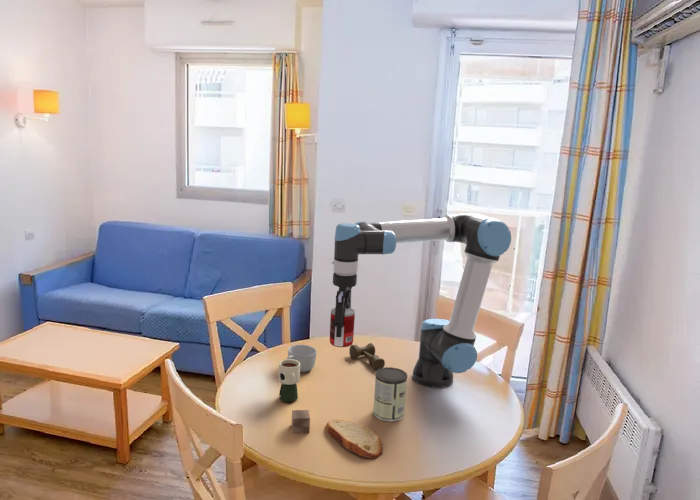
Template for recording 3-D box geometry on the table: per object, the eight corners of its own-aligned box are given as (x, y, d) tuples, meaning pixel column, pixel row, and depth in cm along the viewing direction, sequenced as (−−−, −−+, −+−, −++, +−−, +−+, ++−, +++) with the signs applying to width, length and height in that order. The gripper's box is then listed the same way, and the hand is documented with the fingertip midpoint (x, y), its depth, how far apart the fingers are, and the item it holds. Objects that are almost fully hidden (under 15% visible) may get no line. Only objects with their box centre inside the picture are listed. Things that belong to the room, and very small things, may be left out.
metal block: (307, 424, 173) (308, 409, 172) (309, 433, 168) (309, 418, 167) (291, 425, 172) (292, 410, 171) (292, 433, 167) (293, 418, 166)
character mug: (274, 393, 191) (275, 357, 189) (294, 390, 194) (295, 355, 191) (282, 408, 182) (283, 371, 179) (303, 405, 184) (304, 368, 181)
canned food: (354, 339, 184) (356, 307, 181) (351, 348, 176) (353, 315, 174) (331, 337, 184) (332, 305, 182) (327, 346, 177) (329, 313, 174)
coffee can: (377, 403, 188) (380, 364, 185) (407, 410, 185) (410, 370, 182) (368, 417, 179) (371, 377, 176) (399, 424, 176) (403, 383, 173)
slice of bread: (325, 423, 174) (326, 412, 174) (383, 428, 173) (383, 417, 173) (318, 456, 157) (319, 444, 156) (382, 462, 156) (383, 450, 155)
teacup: (303, 360, 219) (304, 341, 217) (321, 370, 211) (322, 350, 210) (274, 370, 209) (275, 350, 208) (293, 380, 202) (293, 359, 200)
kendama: (368, 374, 212) (344, 353, 229) (389, 370, 217) (364, 350, 234) (370, 359, 211) (345, 339, 228) (391, 356, 215) (365, 337, 232)
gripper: (340, 264, 186) (336, 328, 191) (326, 279, 166) (322, 351, 171) (362, 266, 184) (358, 331, 189) (350, 282, 164) (346, 354, 169)
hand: (341, 340), depth 180 cm, fingers closed on canned food, 8 cm apart
